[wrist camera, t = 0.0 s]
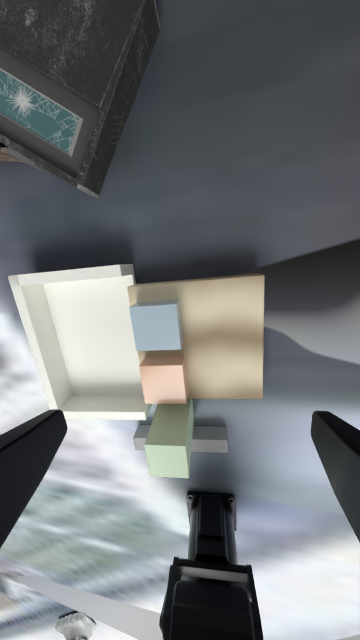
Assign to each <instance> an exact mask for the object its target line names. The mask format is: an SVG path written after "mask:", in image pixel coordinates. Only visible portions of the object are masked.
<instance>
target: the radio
mask: <svg viewBox="0 0 360 640" xmlns="http://www.w3.org/2000/svg"><path fill="white" fill-rule="evenodd" d="M159 30H160V21H159V16H158V11H157V6H156V1H155V0H0V142H1V143H3V144H5V145H6V146H8V147H0V161H3V162H25V163H27V164H29V165H31V166H33V167H35V168H37V169H40V170H42V171H44V172H46V173H48V174H51V175H53V174H55V175H56V176H58V177H60V178H61V179H63V180H65V181H66V182H68V183H70V184H71V185H73V186H75V187H76V188H78V189H80V190H82V191H84V192H85V193H87V194H89V195H91V196H93V197H95V198H96V197H98V196H99V193H100V190H101V188H102V185H103V182H104V179H105V177H106V174H107V171H108V169H109V166H110V163H111V160H112V158H113V155H114V152H115V150H116V147H117V144H118V141H119V139H120V136H121V133H122V131H123V128H124V125H125V123H126V120H127V117H128V114H129V112H130V109H131V106H132V104H133V101H134V98H135V95H136V93H137V90H138V87H139V85H140V82H141V79H142V76H143V74H144V71H145V68H146V66H147V63H148V60H149V58H150V55H151V52H152V49H153V47H154V44H155V41H156V39H157V36H158V33H159Z"/></svg>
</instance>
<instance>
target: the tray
mask: <svg viewBox="0 0 360 640" xmlns="http://www.w3.org/2000/svg"><path fill="white" fill-rule="evenodd" d="M8 279H9V282H10V285H11V288H12V291H13V294H14V298H15V301H16V304H17V307H18V310H19V313H20V316H21V320H22V323H23V326H24V329H25V332H26V335H27V339H28V342H29V345H30V348H31V351H32V354H33V357H34V361H35V364H36V367H37V370H38V373H39V376H40V380H41V383H42V386H43V389H44V392H45V395H46V399H47V402H48V405H49V408H50V410H51V409H60V410H62V411H63V414H64V417H65V419H112V420H146V419H147V416H148V413H149V411H150V408H151V405H152V404H145V400H144V394H143V388H142V382H141V376H140V370H139V365H140V363H139V357H138V351H136V346H135V340H134V334H133V328H132V322H131V316H130V310H129V307H130V302H129V296H128V290H127V287H128V286H131V285H134V284H136V281H135V274H134V268H133V264H121V265H111V266H101V267H91V268H81V269H71V270H62V271H52V272H42V273H32V274H22V275H13V276H8Z"/></svg>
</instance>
